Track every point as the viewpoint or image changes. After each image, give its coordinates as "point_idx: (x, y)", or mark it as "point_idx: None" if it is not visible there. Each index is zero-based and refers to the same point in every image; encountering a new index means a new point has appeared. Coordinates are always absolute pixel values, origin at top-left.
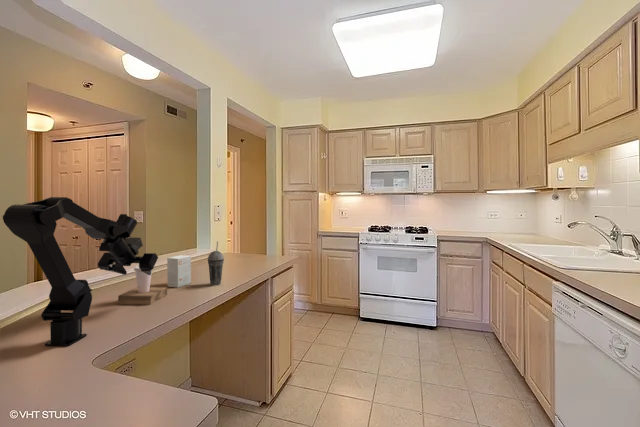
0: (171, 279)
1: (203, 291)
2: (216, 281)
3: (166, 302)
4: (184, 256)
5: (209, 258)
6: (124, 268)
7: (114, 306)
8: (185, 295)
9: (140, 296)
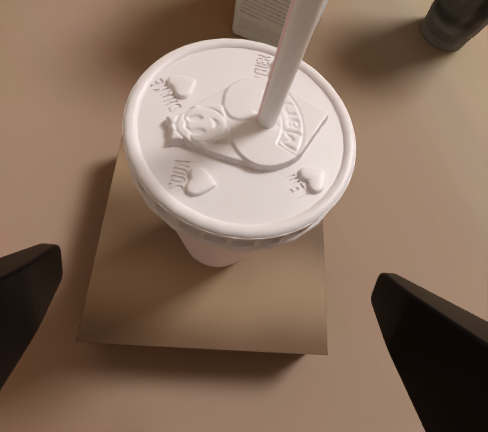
0: (266, 7)
1: (451, 131)
2: (473, 34)
3: None
4: None
5: None
6: (1, 284)
7: (92, 399)
8: (404, 190)
9: (252, 350)
